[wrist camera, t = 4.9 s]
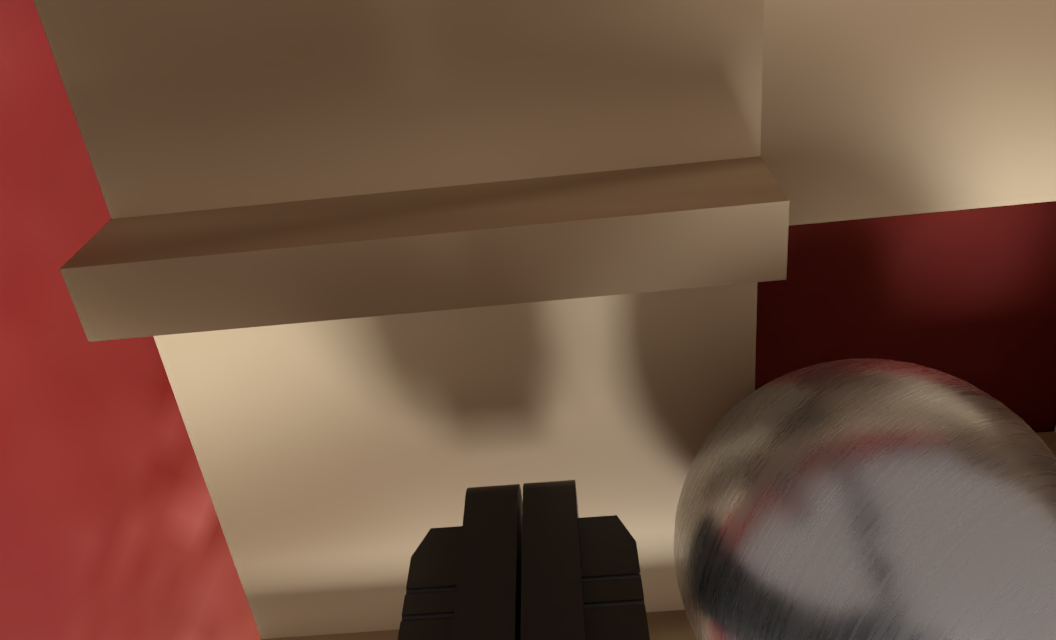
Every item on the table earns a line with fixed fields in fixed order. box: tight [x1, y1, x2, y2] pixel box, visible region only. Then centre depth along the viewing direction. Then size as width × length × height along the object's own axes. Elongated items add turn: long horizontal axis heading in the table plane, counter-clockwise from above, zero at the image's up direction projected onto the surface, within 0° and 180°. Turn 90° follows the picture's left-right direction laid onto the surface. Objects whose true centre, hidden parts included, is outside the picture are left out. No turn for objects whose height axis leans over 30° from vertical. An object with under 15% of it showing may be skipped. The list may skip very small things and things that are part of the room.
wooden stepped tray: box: [34, 0, 1056, 640], centre depth 14 cm, size 18×18×7 cm
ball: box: [674, 358, 1056, 640], centre depth 12 cm, size 5×5×5 cm
